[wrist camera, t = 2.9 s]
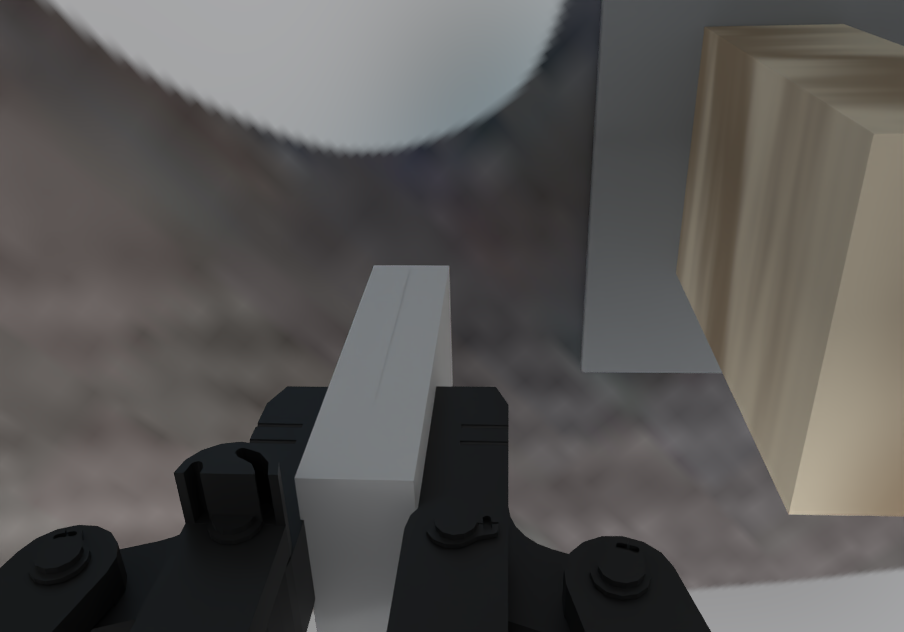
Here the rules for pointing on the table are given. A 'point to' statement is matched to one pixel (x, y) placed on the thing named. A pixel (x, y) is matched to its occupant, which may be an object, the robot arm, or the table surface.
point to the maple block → (804, 254)
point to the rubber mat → (664, 168)
